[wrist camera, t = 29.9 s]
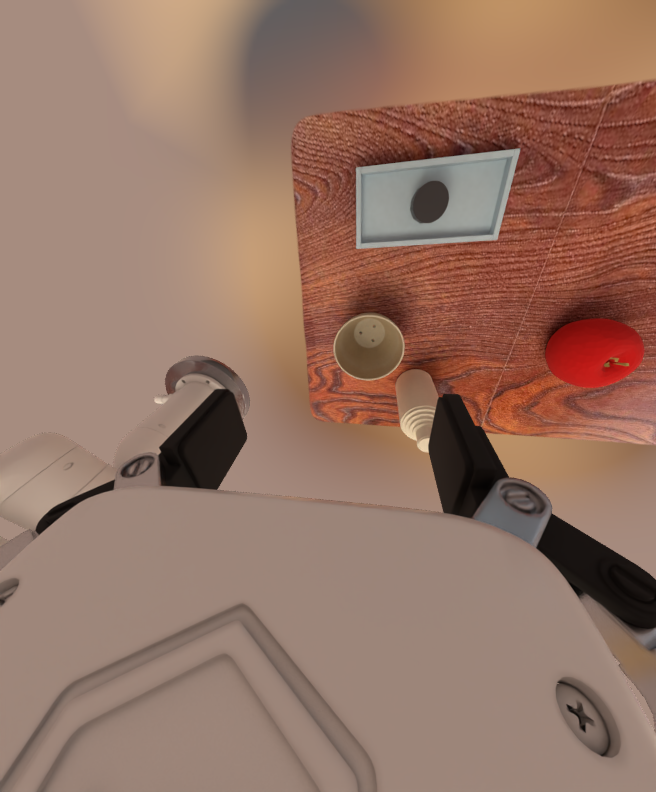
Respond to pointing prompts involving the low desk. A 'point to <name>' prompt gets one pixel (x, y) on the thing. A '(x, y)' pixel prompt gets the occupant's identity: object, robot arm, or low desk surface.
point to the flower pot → (369, 346)
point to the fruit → (594, 352)
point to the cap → (429, 202)
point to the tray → (467, 208)
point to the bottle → (416, 405)
